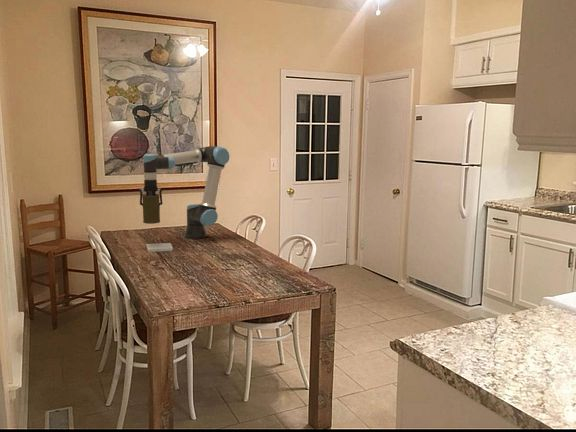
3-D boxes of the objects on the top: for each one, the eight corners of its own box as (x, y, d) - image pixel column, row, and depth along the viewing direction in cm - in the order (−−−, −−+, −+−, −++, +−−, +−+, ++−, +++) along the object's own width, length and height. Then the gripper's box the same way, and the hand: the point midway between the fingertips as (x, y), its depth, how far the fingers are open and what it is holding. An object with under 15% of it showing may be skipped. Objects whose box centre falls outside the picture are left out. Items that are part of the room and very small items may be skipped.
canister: (157, 224, 301) (156, 191, 297) (140, 223, 301) (139, 191, 298) (162, 220, 311) (161, 189, 308) (146, 220, 312) (145, 189, 308)
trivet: (170, 245, 317) (170, 242, 317) (173, 250, 303) (172, 248, 303) (146, 246, 312) (146, 243, 312) (147, 252, 298) (147, 249, 298)
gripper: (166, 178, 308) (167, 214, 312) (134, 178, 302) (135, 215, 306) (166, 179, 301) (167, 216, 305) (134, 180, 295) (135, 217, 299)
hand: (151, 215), depth 305 cm, fingers open, 6 cm apart
